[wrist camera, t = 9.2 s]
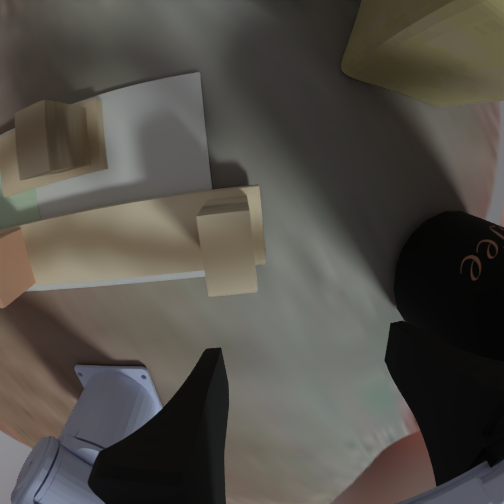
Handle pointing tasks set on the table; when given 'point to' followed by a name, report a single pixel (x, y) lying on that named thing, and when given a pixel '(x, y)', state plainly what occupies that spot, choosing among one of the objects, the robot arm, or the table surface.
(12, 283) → the cube
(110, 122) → the mat
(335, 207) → the table surface
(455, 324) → the coffee jar
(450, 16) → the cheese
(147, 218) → the beige wooden beam
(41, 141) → the broken strip
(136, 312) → the table surface
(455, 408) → the robot arm
